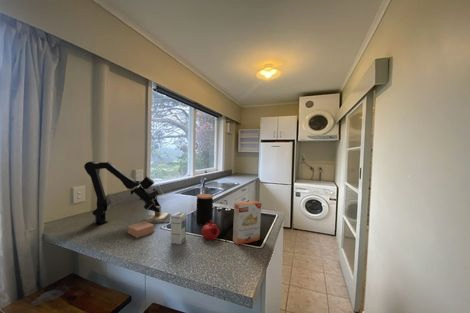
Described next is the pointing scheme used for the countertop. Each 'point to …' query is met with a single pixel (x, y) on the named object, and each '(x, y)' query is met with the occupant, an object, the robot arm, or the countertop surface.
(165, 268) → the countertop surface
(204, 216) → the coffee jar
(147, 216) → the mat
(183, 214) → the syrup box
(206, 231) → the pomegranate
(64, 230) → the countertop surface
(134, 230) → the storage box
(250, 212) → the cracker box
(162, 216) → the lid
